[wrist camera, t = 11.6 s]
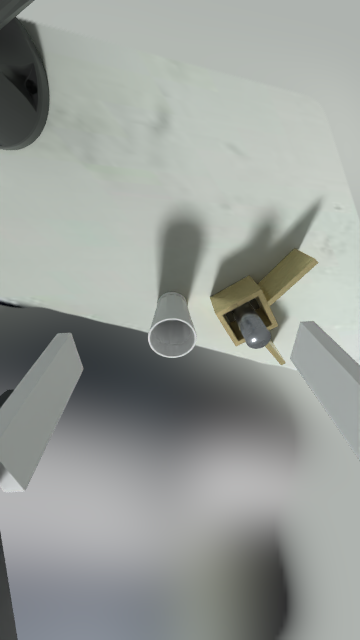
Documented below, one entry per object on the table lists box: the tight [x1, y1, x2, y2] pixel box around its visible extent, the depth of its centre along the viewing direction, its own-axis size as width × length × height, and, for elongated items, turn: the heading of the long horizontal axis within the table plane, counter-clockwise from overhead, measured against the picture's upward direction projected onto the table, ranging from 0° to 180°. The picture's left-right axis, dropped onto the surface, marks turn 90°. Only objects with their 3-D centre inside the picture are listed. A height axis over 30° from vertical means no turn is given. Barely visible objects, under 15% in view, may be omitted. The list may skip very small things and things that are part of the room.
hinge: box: [210, 248, 318, 365], centre depth 46 cm, size 19×18×7 cm
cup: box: [148, 292, 197, 358], centre depth 42 cm, size 8×8×12 cm
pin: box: [231, 301, 271, 349], centre depth 42 cm, size 4×4×13 cm
